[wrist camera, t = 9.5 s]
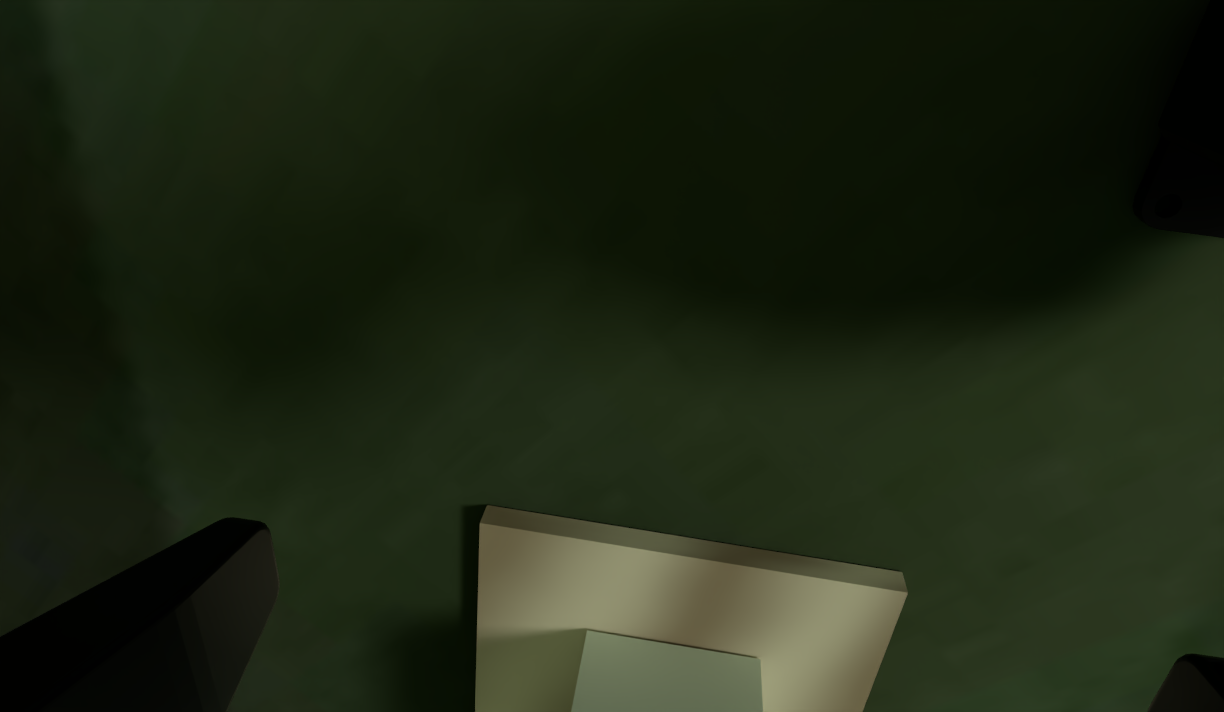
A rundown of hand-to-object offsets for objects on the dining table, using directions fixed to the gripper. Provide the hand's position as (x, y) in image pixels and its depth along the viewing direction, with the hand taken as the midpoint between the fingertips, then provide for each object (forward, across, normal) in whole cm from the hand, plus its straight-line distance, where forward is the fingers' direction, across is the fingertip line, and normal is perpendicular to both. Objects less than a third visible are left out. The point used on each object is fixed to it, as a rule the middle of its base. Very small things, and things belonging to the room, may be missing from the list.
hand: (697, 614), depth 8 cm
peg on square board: (+12, 0, +15) cm, 19 cm away
